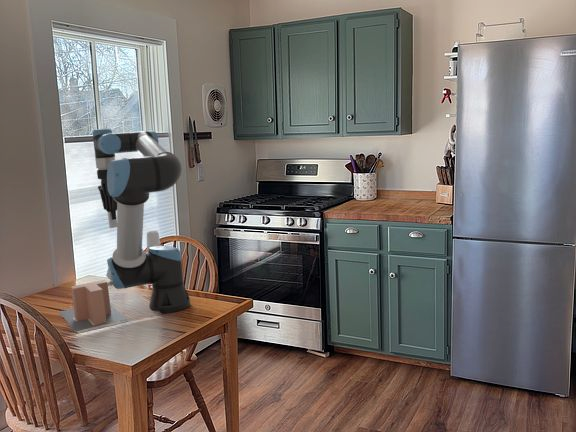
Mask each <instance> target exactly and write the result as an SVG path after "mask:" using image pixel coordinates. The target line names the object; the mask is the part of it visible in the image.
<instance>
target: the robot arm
mask: <svg viewBox="0 0 576 432" xmlns="http://www.w3.org/2000/svg"><path fill="white" fill-rule="evenodd" d="M92 142H93V150H94V157H95V158H94V159H95V160H94V161H95V167H96V169H97V170H96V175H97V179H98V180H100V185H98V186H97V189H98V191H99V194H100V198H101V202H102V207H103V209H104V210H105V211H106V212H107V219H108V227H109V229H114V228H116V249H115V250H114V251H113V252H112V255H111V257H109V258H107V261H106V262H107V269H108V268H109V272H110V276H111V280H112V281H111V280H110V281H111V283H112V286H113V287H114V288H115V289H117V290H121V289H123V290H124V289H126V290H127V289H131V288H134V287H139V286H143V285H150V284H151V286H152V288H151V289H152V291H151V296H150V300H149V304H148V305H149V309H150V310H152V311H155V312H160V313H161V314H167V313H168V314H170V313H176V312H179V311H183V310H185V309H187V308H189V307H190V306H191V299H190V296H189V294H188V293H189V292H188V291H187V290H186V287H185V283H184V282H185V281H184V272H183V263H182V262H183V261H182V255H181V251H180V249H179V248H177V247H174V246H168V245H167V246H166V245H161V246H154V247H150V248H149V249H148V252H147V251H145V250H144V249H143V237H144V236H143V234H144V231H143V230H144V214H145V213H144V210H145V209H144V208H145V203H146V202H147V201H148V200H149V197H150V194H151V193H157V192H163V191H166V190H169V189H170V188H172V187H173V186H175V184H176V183H177V182H178V181H179V180H180V177H181V176H182V171H183V170H182V164H181V160H180V159H179V158H178V157H177V156H176V155H175V154H174V153H172V152H169V151H167V150H166V149H164V148H163V147H162V145H161V144H160V143H159V136H158V134H157V132H156V131H155V130H143V131H142V130H141V131H130V132H129V131H128V132H113V130H112V129H111V128H98V129H93V130H92ZM136 152H138V153H139V154H140V156H141V157H130V158H126V157H123V158H119V159H116V154H121V153H122V154H123V153H136Z"/></svg>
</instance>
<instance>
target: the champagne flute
mask: <svg viewBox="0 0 576 432" xmlns="http://www.w3.org/2000/svg"><path fill="white" fill-rule="evenodd" d="M161 244H162V243H161V240H160V234H159V231H158V230H149V231H147V232H146V252H148V249H149V248H150V247H154V246H162V245H161ZM150 288H151V289H153V288H152V285H151V286H150Z"/></svg>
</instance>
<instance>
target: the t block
mask: <svg viewBox="0 0 576 432" xmlns="http://www.w3.org/2000/svg"><path fill="white" fill-rule="evenodd" d="M70 288H71V289H70V290H71V296H72V305H73V309H74V314H75V319H76V320H77V321H81V320H85V319H90V320H91V321H92V322H93V323H94V324H95V325H98V324H102V323H106V322H107V321H106V315H108V314H111V307H110V305H111V302H110V299H111V298H110V293H109V284H108V281H107V280H105V279H103V280H98V281H94V282H87V283H84V284H78V285H72V286H70Z"/></svg>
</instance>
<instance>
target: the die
mask: <svg viewBox="0 0 576 432" xmlns="http://www.w3.org/2000/svg"><path fill="white" fill-rule="evenodd" d="M105 276H106V278H108V279H109V280H110V281H111V282H112V280H111V276H110V272H109V268H108V267H107V271H106V274H105Z"/></svg>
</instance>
